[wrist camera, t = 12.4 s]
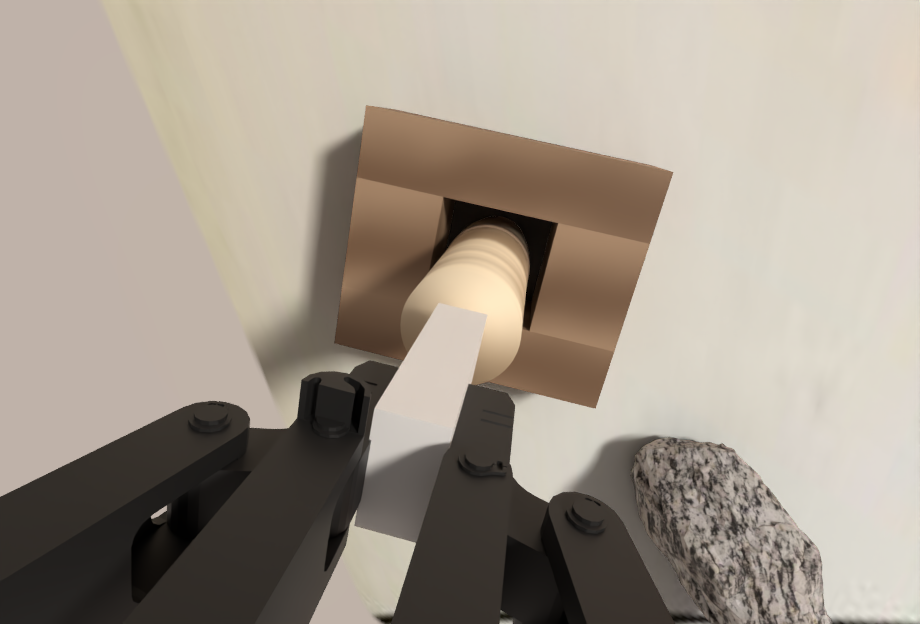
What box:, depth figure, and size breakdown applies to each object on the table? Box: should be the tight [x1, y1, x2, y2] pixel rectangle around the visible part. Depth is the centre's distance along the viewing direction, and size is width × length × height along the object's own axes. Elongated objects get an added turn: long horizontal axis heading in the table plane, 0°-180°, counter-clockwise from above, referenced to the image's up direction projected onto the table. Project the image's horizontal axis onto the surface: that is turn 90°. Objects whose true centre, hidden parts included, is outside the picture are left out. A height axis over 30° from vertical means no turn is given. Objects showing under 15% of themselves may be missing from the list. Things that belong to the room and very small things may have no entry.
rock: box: [630, 437, 833, 624], centre depth 31 cm, size 16×8×10 cm, turn 15°
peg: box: [400, 216, 530, 385], centre depth 24 cm, size 4×4×14 cm
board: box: [335, 105, 673, 408], centre depth 28 cm, size 12×14×5 cm
